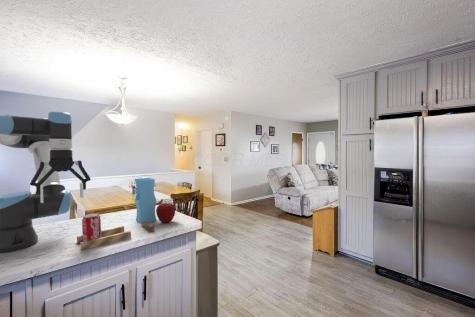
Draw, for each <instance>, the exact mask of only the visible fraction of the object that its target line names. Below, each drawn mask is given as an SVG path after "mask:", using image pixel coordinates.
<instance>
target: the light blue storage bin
mask: <svg viewBox="0 0 475 317" xmlns="http://www.w3.org/2000/svg"><path fill="white" fill-rule="evenodd" d="M155 181H156V179H155V178H154V177H141V178H134V182H135V186H136V194H135V198H134V203H135V209H136V216H135V221H136V222H137V223H138V224H142V221H147V222H148V223H150V222H155V221H157V215H156V205H157V198H156V195H155V190H154V187H155Z"/></svg>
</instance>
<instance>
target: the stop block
mask: <svg viewBox="0 0 475 317" xmlns="http://www.w3.org/2000/svg"><path fill="white" fill-rule="evenodd" d="M141 228H143V229H144V230H145V231H147V232H149V233H155V229H156V228H155V225H153V224H151V223H150V222H147V221H142V223H141Z"/></svg>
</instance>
